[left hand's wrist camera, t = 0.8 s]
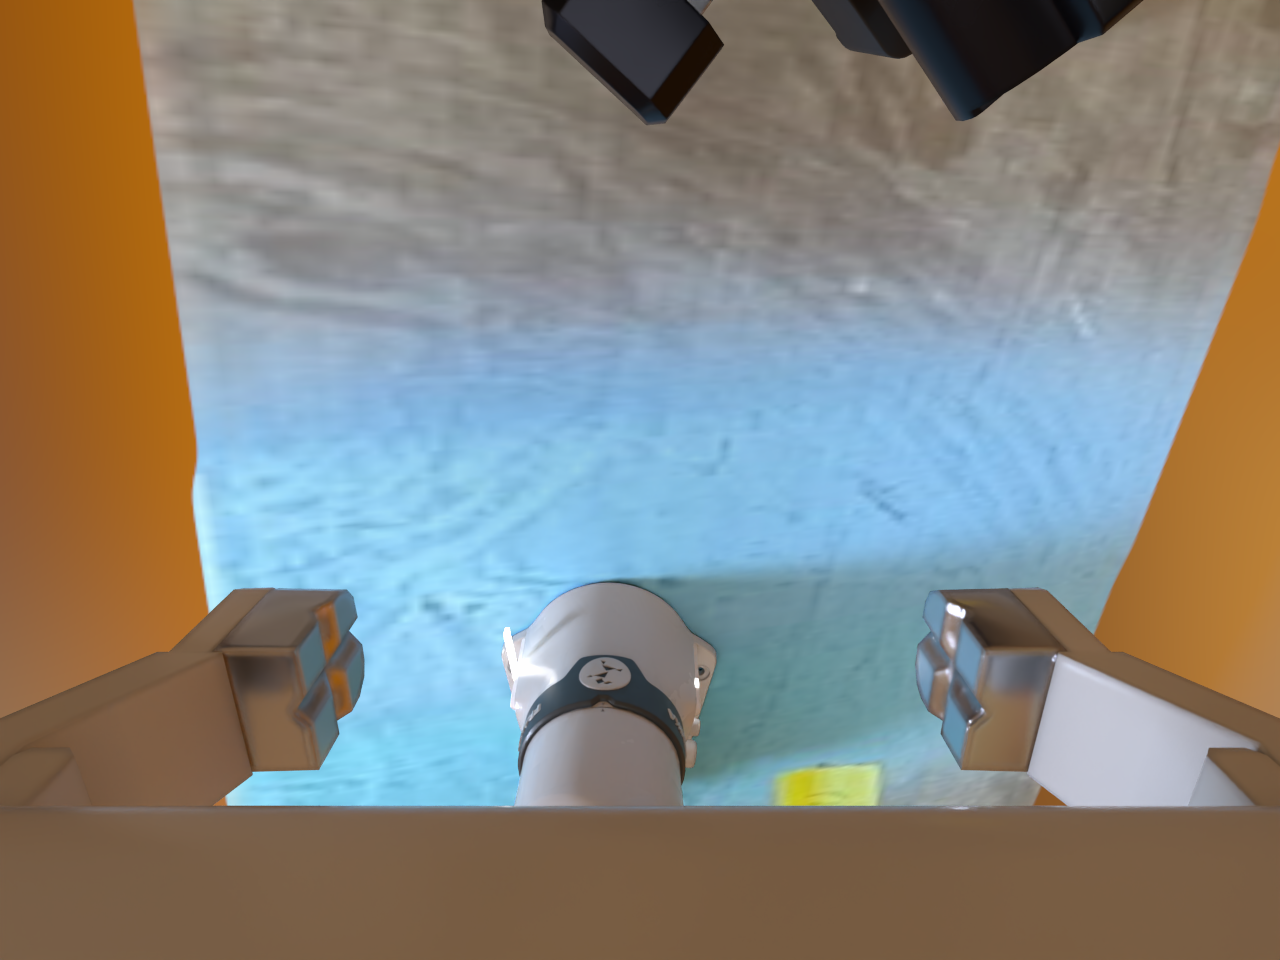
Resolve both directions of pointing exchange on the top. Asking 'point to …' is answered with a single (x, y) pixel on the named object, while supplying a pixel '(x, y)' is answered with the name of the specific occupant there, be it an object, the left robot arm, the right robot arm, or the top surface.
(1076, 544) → the top surface
